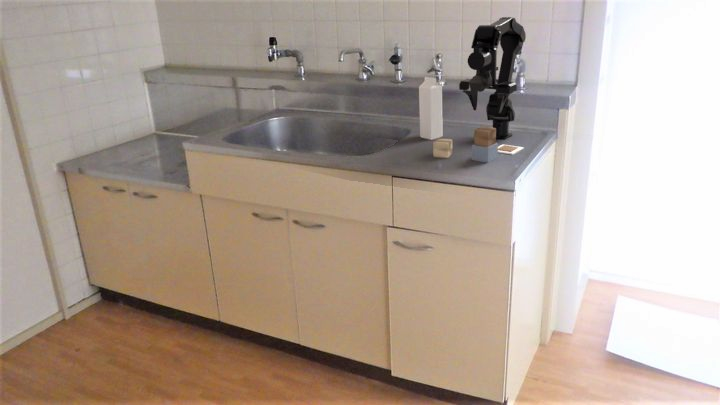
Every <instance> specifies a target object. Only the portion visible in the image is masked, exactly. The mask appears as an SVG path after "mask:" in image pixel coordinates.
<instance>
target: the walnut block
mask: <svg viewBox="0 0 720 405" xmlns="http://www.w3.org/2000/svg"><path fill="white" fill-rule="evenodd" d="M473 133H474V134H473V135H474V136H473V137H474V138H473V140H474V141H473V142H474V144H473V145H477V146H483V147H490V146H492V145H493V144H495V143H497V138H496V128H493V127H491V126H490V127H488V126H480V127H477V128H476V129H474V132H473Z"/></svg>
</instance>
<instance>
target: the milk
mask: <svg viewBox="0 0 720 405" xmlns="http://www.w3.org/2000/svg"><path fill="white" fill-rule="evenodd" d="M418 100H419V101H418V102H419V103H418V104H419V107H418V108H419V134H420V138H421V139H422V138H423V139H425V140H430V141H432V140H437V139H441V138H442V137H443V136H444V132H443V130H444V129H443V126H444V125H443V120H444V119H443V86H442V85H441V84H439V83H438V82H437V79H436V77H435V78H434V77H429V76H424V81H423V82H422V83H421V84H420V85H419V87H418Z"/></svg>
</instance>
